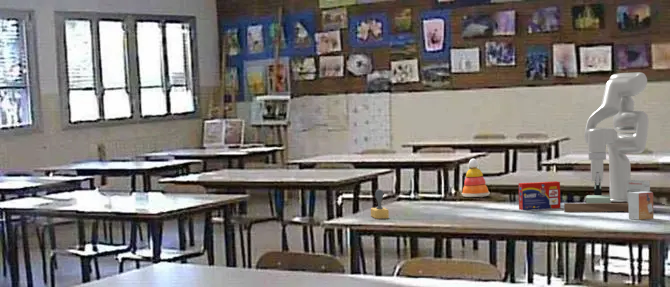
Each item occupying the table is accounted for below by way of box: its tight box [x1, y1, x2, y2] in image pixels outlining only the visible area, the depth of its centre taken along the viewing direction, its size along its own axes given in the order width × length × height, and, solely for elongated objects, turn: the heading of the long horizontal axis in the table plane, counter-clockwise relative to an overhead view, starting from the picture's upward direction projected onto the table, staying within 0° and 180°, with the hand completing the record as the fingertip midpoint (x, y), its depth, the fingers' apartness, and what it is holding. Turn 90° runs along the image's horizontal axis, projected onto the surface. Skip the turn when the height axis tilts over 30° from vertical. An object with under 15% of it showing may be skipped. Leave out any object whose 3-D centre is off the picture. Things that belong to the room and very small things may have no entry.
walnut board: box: [563, 202, 629, 213], centre depth 412 cm, size 2×28×4 cm, turn 75°
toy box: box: [518, 181, 562, 211], centre depth 430 cm, size 18×4×12 cm, turn 104°
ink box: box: [626, 179, 651, 203], centre depth 425 cm, size 8×5×12 cm, turn 39°
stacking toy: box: [461, 158, 491, 198], centre depth 495 cm, size 14×14×20 cm
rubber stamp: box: [370, 188, 390, 220], centre depth 415 cm, size 10×6×12 cm, turn 10°
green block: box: [585, 194, 612, 203], centre depth 424 cm, size 12×10×6 cm
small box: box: [628, 191, 654, 221], centre depth 382 cm, size 8×6×10 cm
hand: (598, 197), depth 432 cm, fingers closed
